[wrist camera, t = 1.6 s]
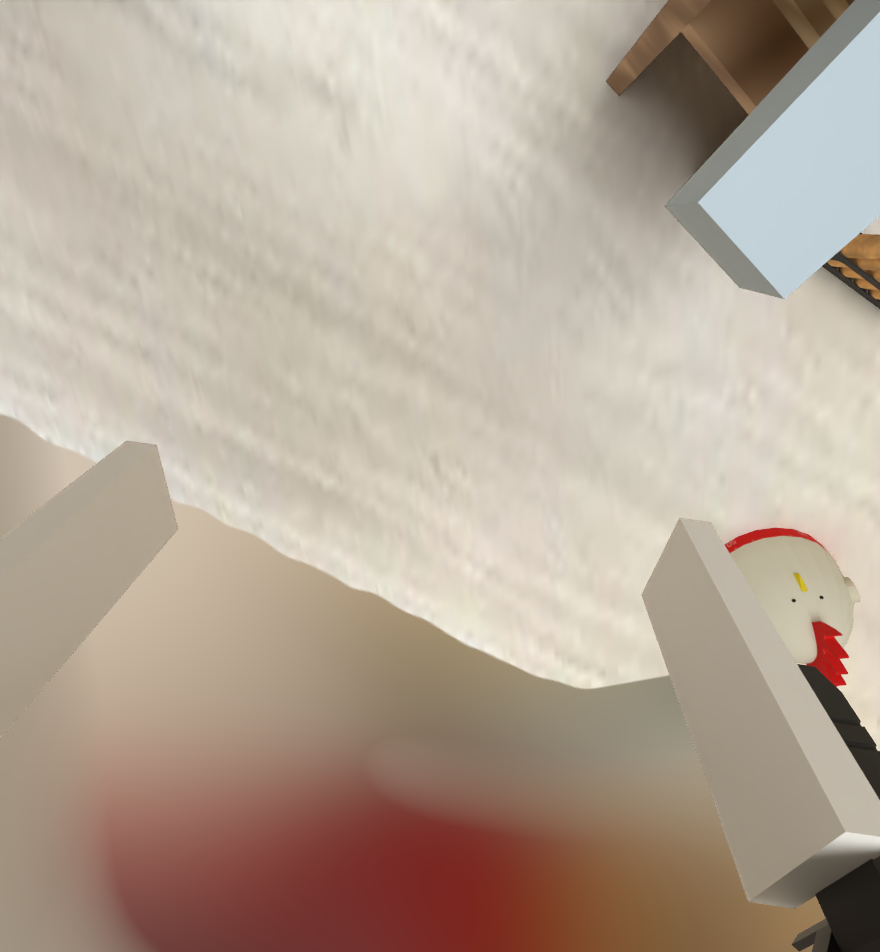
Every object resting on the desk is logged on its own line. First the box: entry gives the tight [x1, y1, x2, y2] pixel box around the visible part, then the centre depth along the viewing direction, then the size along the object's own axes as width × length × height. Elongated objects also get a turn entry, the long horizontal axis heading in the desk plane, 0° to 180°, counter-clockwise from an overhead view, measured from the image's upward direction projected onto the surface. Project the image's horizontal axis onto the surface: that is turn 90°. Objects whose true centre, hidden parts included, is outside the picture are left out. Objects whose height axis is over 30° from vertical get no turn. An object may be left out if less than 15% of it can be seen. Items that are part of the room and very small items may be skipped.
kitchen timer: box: [725, 528, 860, 687], centre depth 51 cm, size 14×14×15 cm
